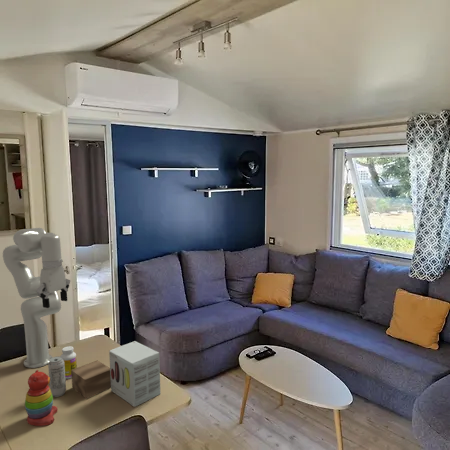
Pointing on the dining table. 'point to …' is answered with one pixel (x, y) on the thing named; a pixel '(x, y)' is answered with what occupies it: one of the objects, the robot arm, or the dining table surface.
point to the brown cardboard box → (91, 379)
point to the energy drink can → (57, 376)
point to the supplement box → (135, 373)
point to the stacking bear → (39, 400)
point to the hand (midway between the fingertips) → (55, 304)
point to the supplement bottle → (69, 361)
